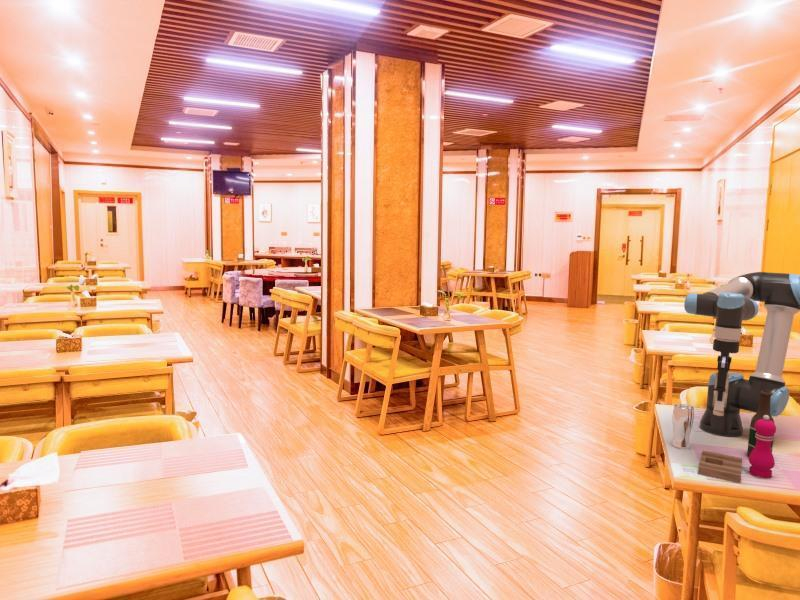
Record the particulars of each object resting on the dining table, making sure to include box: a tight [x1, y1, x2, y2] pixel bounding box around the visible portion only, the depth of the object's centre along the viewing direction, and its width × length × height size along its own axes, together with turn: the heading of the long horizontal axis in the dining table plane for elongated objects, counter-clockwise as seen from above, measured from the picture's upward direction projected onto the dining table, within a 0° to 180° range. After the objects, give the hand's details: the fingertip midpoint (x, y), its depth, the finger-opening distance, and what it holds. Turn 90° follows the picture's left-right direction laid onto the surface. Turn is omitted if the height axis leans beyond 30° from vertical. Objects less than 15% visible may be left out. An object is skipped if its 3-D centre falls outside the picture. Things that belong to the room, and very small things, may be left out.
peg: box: [712, 371, 730, 416], centre depth 195 cm, size 4×4×14 cm
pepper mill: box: [748, 415, 777, 479], centre depth 189 cm, size 7×7×20 cm
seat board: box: [697, 449, 743, 484], centre depth 193 cm, size 17×12×2 cm
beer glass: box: [671, 403, 695, 450], centre depth 213 cm, size 7×7×15 cm
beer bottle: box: [746, 391, 776, 458], centre depth 203 cm, size 8×8×24 cm
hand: (719, 408), depth 195 cm, fingers closed on peg, 4 cm apart
